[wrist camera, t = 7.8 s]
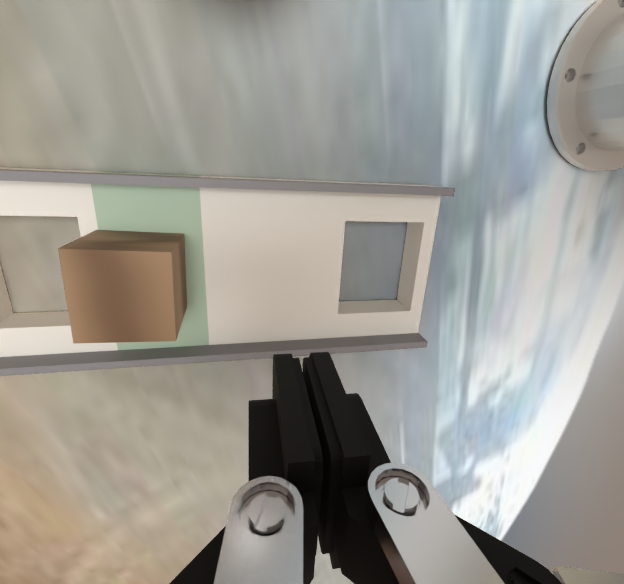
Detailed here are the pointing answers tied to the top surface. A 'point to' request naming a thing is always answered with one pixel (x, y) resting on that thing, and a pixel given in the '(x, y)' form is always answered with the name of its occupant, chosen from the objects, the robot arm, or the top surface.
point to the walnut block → (125, 286)
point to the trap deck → (229, 265)
